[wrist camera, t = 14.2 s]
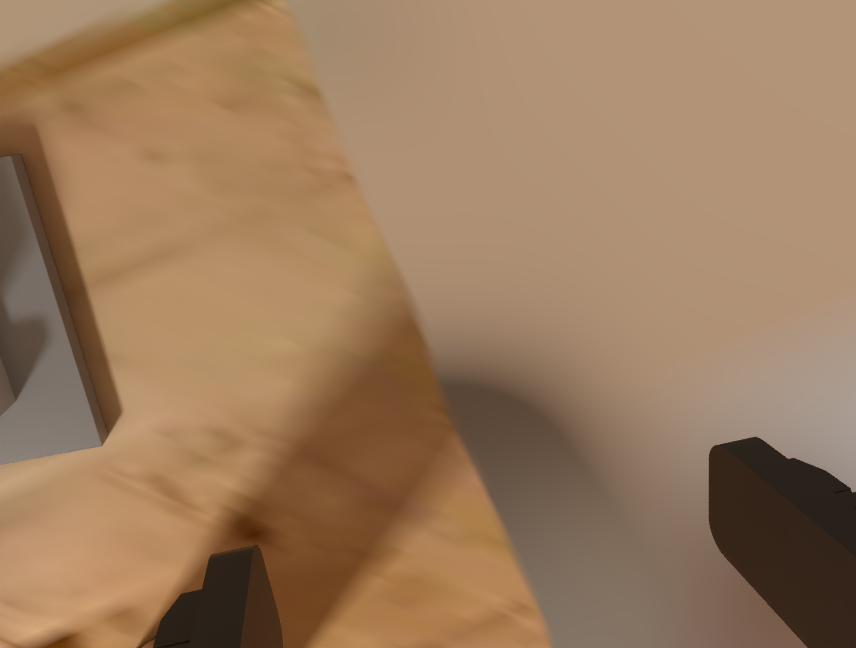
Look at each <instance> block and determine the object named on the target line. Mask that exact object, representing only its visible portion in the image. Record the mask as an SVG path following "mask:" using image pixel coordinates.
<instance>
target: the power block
mask: <svg viewBox="0 0 856 648" xmlns="http://www.w3.org/2000/svg"><path fill="white" fill-rule="evenodd" d="M107 437H108V433H107V429H106V426H105V423H104V420H103V416H102V413H101V410H100V407H99V404H98V400H97V397H96V394H95V391H94V387H93V384H92V381H91V378H90V375H89V371H88V368H87V365H86V362H85V358H84V355H83V352H82V349H81V346H80V342H79V339H78V336H77V333H76V329H75V326H74V323H73V320H72V317H71V313H70V310H69V307H68V304H67V300H66V297H65V294H64V291H63V288H62V284H61V281H60V278H59V275H58V272H57V268H56V265H55V262H54V259H53V255H52V252H51V249H50V246H49V243H48V239H47V236H46V233H45V230H44V226H43V223H42V220H41V217H40V214H39V210H38V207H37V204H36V201H35V197H34V194H33V191H32V188H31V185H30V181H29V178H28V175H27V172H26V168H25V165H24V162H23V159H22V156H21V154H20V155H12V156H5V157H0V465H1V464H7V463H12V462H18V461H23V460H29V459H34V458H40V457H45V456H51V455H56V454H61V453H67V452H72V451H78V450H83V449H89V448H94V447H100V446H102V445H103V444H104V442H105V440H106V439H107Z"/></svg>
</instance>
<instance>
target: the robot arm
mask: <svg viewBox="0 0 856 648" xmlns="http://www.w3.org/2000/svg"><path fill="white" fill-rule="evenodd" d="M709 523H710V528H711V532H712V535H713V538H714V540H715V542H716V544H717V546H718V548H719V550H720V551H721V553H722V554H723V555H724V556H725V557H726V558H727V560H728V561H729V562H730V563H731V564H732V565H733V566H734V567H735V568H736V569H737V571H738V572H739V573H740V574H741V575H742V576H743V577H744V578H745V579H746V581H748V583H749V584H750V585H751V586H752V587H753V588H754V589H755V590H756V592H757V593H758V594H759V595H760V596H761V597H762V598H763V599H764V600H765V601H766V602H767V604H768V605H769V606H770V607H771V608H772V609H773V610H774V611H775V612H776V613H777V614H778V616H779V617H780V618H781V619H782V620H783V621H784V622H785V623H786V624H787V626H788V627H789V628H790V629H791V630H792V631H793V632H794V633H795V634H796V635H797V636H798V638H799V639H800V640H801V641H802V642H803V643H804V644H805V645H806V646H807V647H808V648H856V492H853V493H852V492H851V488H849V487H848V486H846V485H845V484H844V483H842V482H841V481H839V480H838V479H837V478H835V477H834V476H832V475H831V474H830V473H828V472H827V471H825V470H823V469H820V468H817V467H815V466H813V465H810V464H807V463H805V462H803V461H800V460H797V459H795V458H791V459H787V458H786V457H785V456H783V455H782V454H781V453H779V452H778V451H777V450H775V449H774V448H772V447H771V446H770V445H769V444H767V443H766V442H764V441H763V440H761V439H760V438H757V437H752V438H748V439H743V440H738V441H733V442H729V443H724V444H720V445H715V446H713V447H712V449H711V451H710V454H709ZM141 648H283V639H282V631H281V625H280V620H279V615H278V612H277V608H276V604H275V601H274V597H273V593H272V590H271V586H270V582H269V579H268V575H267V571H266V568H265V564H264V560H263V557H262V553H261V551H260V548H259V547H258V545H253V546H249V547H244V548H239V549H235V550H230V551H226V552H221V553H217V554H212V555H211V556H210V558H209V562H208V566H207V570H206V575H205V579H204V583H203V588H202V589H201V590H197V591H192V592H188V593H183V594H181V595H180V596H179V597H178V599H177V600H176V601H175V603H174V604H173V605H172V607H171V608H170V609H169V611H168V612H167V613H166V615H165V616H164V617H163V618H162V620H161V622H160V625H159V628H158V632H157V635H156V638H155V639H153V640H151V641H150V642H148V643H146V644H145V645H144V646H143V647H141Z"/></svg>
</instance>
